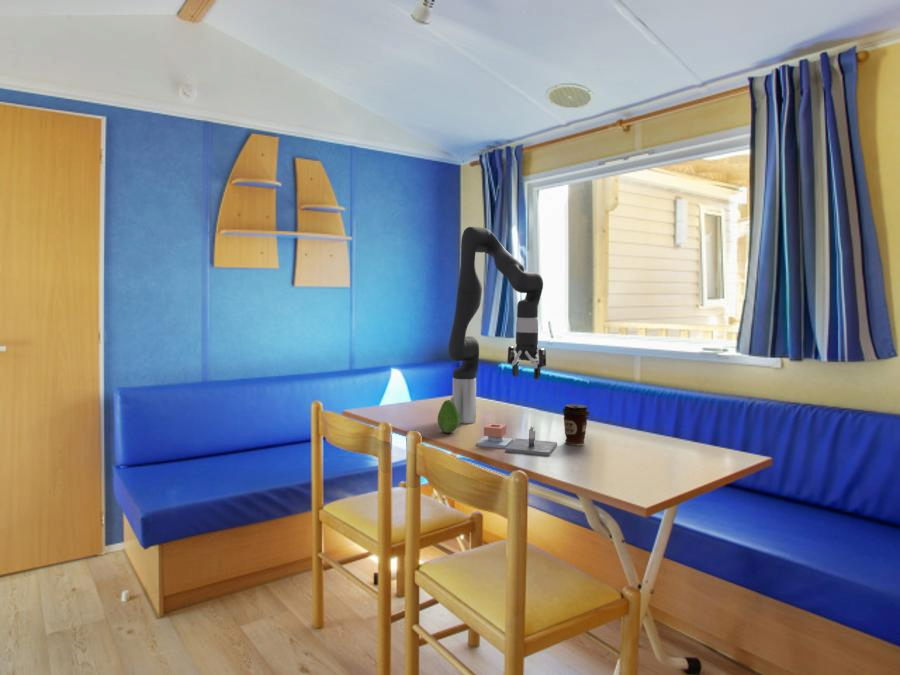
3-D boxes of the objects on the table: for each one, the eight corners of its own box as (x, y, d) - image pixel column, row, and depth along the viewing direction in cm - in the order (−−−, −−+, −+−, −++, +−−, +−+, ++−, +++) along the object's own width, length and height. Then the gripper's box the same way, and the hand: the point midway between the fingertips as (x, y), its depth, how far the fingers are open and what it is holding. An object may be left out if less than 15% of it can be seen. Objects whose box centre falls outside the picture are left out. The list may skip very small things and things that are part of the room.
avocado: (442, 435, 217) (442, 402, 216) (434, 431, 224) (434, 398, 223) (463, 434, 220) (463, 400, 219) (454, 429, 227) (455, 397, 226)
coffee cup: (572, 448, 201) (573, 408, 200) (556, 442, 209) (557, 404, 208) (592, 445, 205) (593, 406, 204) (576, 439, 213) (577, 402, 212)
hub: (505, 451, 196) (505, 429, 195) (516, 441, 209) (516, 420, 208) (548, 456, 191) (549, 433, 191) (557, 445, 204) (557, 424, 204)
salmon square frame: (484, 435, 204) (484, 427, 204) (489, 432, 210) (489, 423, 210) (501, 437, 202) (501, 428, 202) (506, 433, 208) (506, 424, 208)
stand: (476, 445, 203) (476, 429, 203) (485, 438, 213) (485, 423, 212) (505, 448, 200) (505, 431, 200) (513, 441, 209) (513, 425, 209)
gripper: (503, 330, 212) (502, 376, 213) (538, 332, 203) (537, 381, 204) (516, 329, 217) (515, 374, 219) (550, 331, 208) (549, 378, 209)
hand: (526, 377), depth 211 cm, fingers open, 8 cm apart
